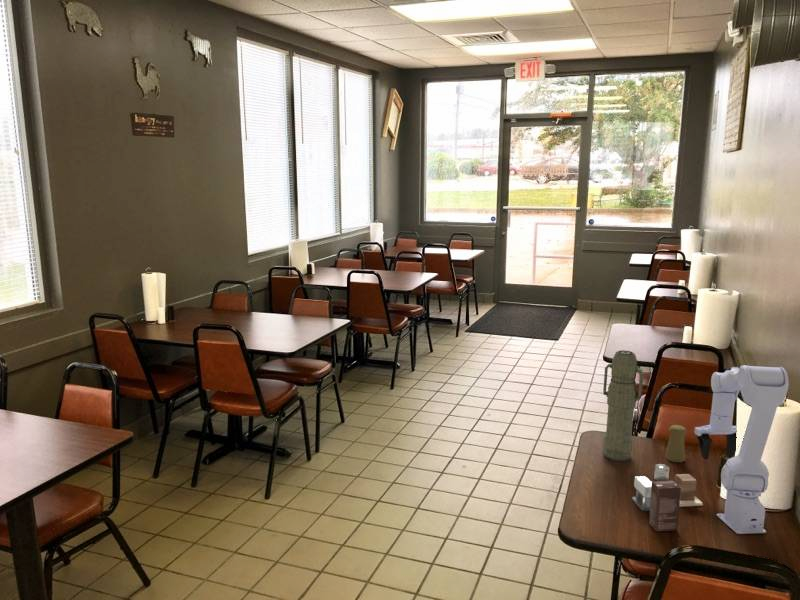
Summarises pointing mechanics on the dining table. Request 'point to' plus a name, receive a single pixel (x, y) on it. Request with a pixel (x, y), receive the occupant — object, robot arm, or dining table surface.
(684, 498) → the walnut block
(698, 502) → the birch pad
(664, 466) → the round canister
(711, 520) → the dining table surface
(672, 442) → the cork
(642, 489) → the mounted unit
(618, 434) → the green thermos bottle
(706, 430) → the robot arm
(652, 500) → the box
